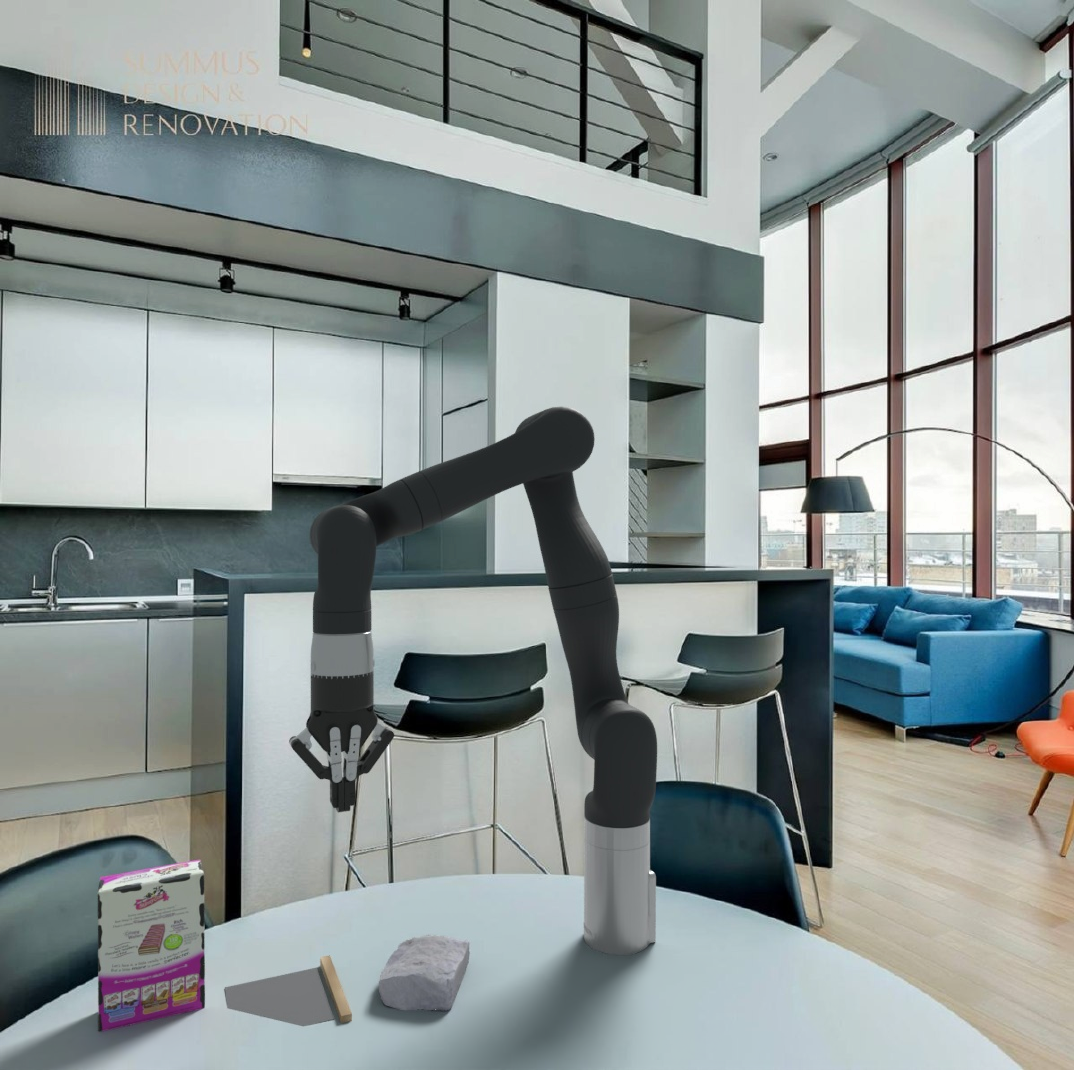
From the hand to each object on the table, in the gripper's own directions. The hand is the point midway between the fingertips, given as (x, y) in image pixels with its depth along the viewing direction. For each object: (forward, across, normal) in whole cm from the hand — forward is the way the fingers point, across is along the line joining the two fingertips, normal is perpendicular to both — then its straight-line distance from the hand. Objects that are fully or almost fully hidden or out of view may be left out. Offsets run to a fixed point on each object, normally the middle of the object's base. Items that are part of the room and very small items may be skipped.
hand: (342, 809), depth 97 cm
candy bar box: (+22, +21, -5) cm, 31 cm away
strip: (+22, +1, 0) cm, 22 cm away
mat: (+22, +8, 0) cm, 23 cm away
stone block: (+22, -5, 0) cm, 22 cm away
